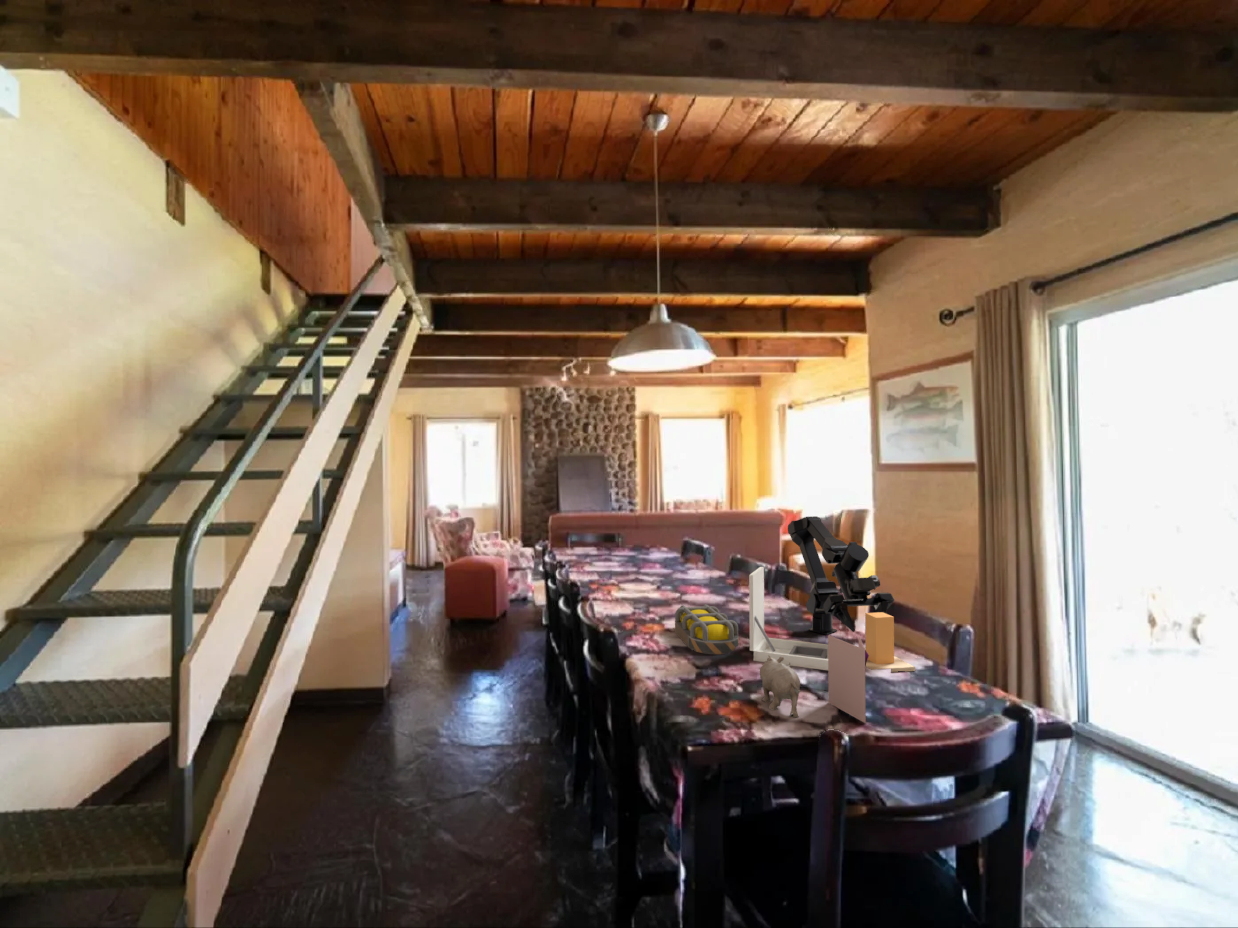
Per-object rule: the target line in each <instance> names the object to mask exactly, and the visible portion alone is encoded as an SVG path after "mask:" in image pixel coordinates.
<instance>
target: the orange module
mask: <svg viewBox="0 0 1238 928" xmlns="http://www.w3.org/2000/svg"><path fill="white" fill-rule="evenodd" d="M864 616H865V619H864V620H865V623H864V624H865V629H864V630H865V634H864V635H865V650H866V652H867V653H868V655H869V657H868V660H870V661H872V662H873V663H875V664H888V663H894V656H895V616H892V615H890V614H888V613H887V614H886V613H883V612H877V613H873V612H865V615H864Z"/></svg>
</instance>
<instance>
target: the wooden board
mask: <svg viewBox="0 0 1238 928" xmlns="http://www.w3.org/2000/svg"><path fill="white" fill-rule="evenodd" d="M865 668H868V669H870V670H871V671H873V670H889V669H890V673H899V672H898V671H905V672H915V671H916V666H915V665H912V664H911V663H908V662H907V661H905V660H903V659H901V658H899V657H897V656H896V655H894V663H888V664H875V663H873V662H872V661H870V660H868V659H867V662H866V667H865Z"/></svg>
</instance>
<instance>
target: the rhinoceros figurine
mask: <svg viewBox="0 0 1238 928" xmlns="http://www.w3.org/2000/svg"><path fill="white" fill-rule="evenodd" d="M768 657H769V658H767V661H765V662H763V664H762V666H761V667H759V676H760V677H759V678H760V680H761V681H762V683H761V684H762V689H763V694H764V697H763V698H762V699H761V701H763V702H764V703H768V702H770V700H771V697H770V692H771V693H772V694H773V701H771V703H770V704H769V706H768V709H769V710H772V711H775V710H779V709H778V708H779V707H780V706H781V703H782V701H784V700H790V701H791V707H790V708H791V709H790V714H789V717H792V718H799V717H800V716H799V713H798V710H797V705H798V700H799V695H800V693H801V690H800V687H801V680H800V678H799V675H798V674H797V672H796V671H795V670H794V669H793V668H791V666H790V662H789V664H788V665H785V664H782V663H780V662H781V661H783V660H784V658H783V657H779V659H778V660H776V659H774V658H771V656H770V655H768Z"/></svg>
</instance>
